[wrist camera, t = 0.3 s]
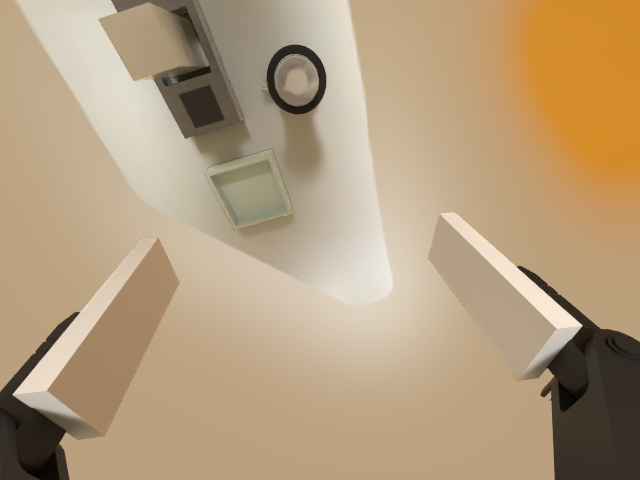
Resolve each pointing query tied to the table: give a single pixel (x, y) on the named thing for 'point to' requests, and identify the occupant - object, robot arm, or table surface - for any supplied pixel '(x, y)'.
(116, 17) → the block
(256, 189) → the parts tray
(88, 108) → the table surface
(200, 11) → the dark gray slotted holder
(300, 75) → the push button
